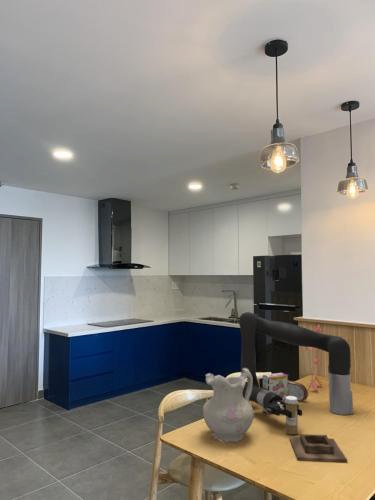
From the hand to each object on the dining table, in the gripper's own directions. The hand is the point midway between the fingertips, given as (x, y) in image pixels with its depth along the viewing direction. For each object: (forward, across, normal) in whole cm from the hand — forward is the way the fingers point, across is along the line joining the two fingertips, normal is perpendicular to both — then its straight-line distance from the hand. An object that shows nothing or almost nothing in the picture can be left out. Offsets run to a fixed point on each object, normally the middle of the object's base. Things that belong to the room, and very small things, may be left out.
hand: (296, 414), depth 145 cm
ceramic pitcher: (-11, -23, +8) cm, 27 cm away
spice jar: (-3, 0, +8) cm, 8 cm away
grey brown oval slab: (-35, +28, +9) cm, 46 cm away
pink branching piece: (-40, +51, +9) cm, 66 cm away
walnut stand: (+12, -2, +8) cm, 15 cm away
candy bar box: (-25, +9, +9) cm, 28 cm away
